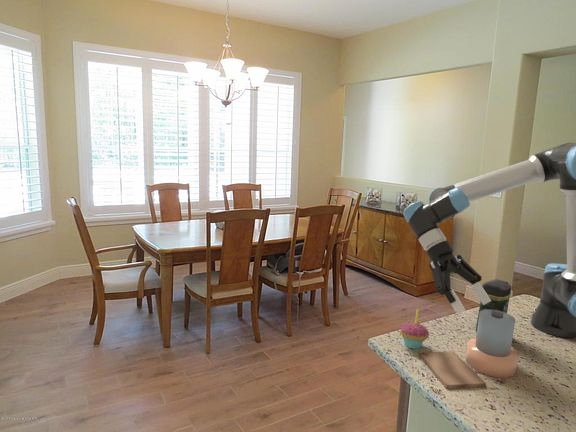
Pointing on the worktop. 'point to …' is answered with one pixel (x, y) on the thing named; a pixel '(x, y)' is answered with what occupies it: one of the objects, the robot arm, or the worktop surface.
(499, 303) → the coffee jar
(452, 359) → the mat
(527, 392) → the worktop surface
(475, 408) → the worktop surface
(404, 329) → the cupcake
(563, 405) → the worktop surface
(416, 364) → the worktop surface
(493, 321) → the blue-grey knobbed jar
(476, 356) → the peach round dome
